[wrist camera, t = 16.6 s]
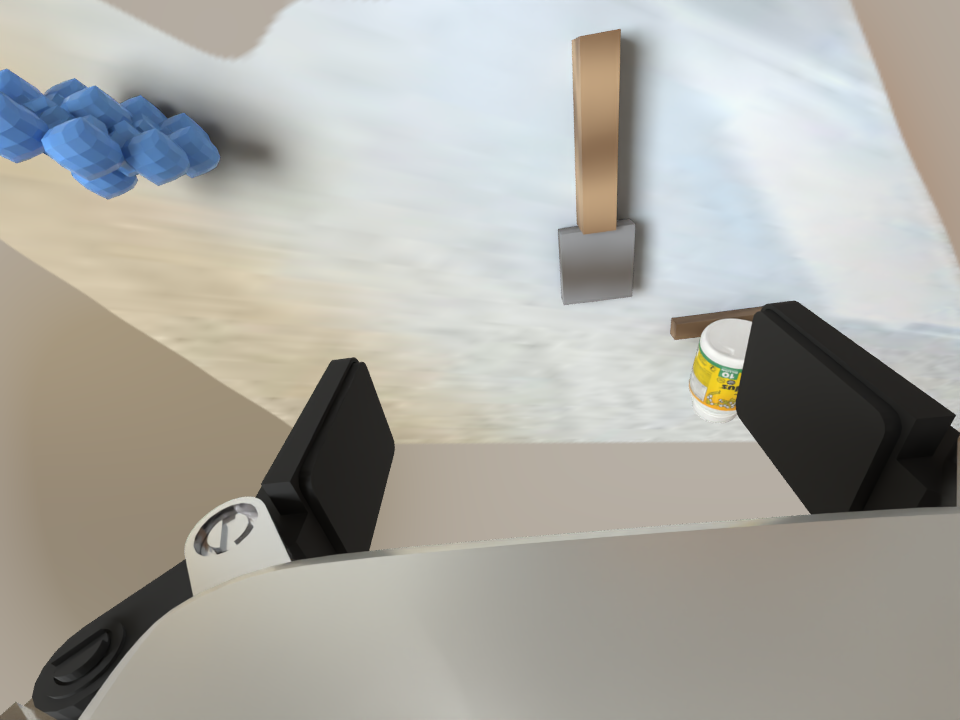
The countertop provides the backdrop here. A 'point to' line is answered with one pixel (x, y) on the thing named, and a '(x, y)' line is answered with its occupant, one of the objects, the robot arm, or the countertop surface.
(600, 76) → the turner
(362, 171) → the countertop surface
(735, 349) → the supplement bottle
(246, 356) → the countertop surface
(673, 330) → the stop strip
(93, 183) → the grapes
